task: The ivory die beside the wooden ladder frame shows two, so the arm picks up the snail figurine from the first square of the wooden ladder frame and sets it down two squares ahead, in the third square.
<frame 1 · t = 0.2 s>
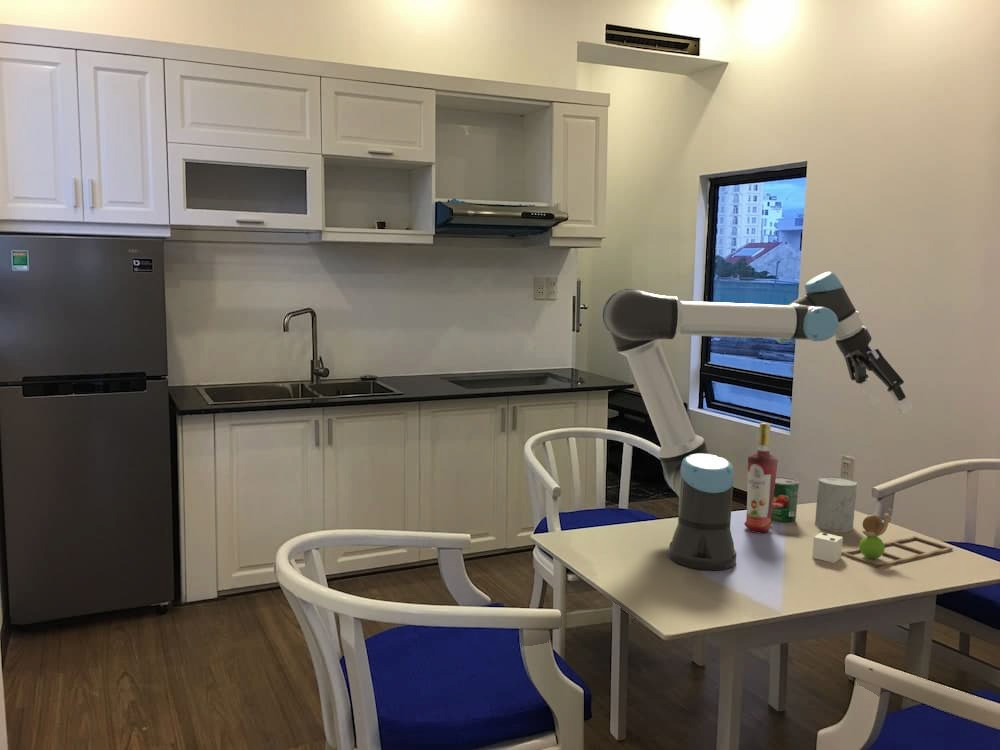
hand: (891, 407, 195), 35 cm above the table, tool tilted 35°, fingers open, 13 cm apart
grey cylinder: (833, 526, 215), on the table
wooden ladder frame: (897, 552, 195), on the table
snail figurine: (872, 559, 190), resting in wooden ladder frame
canned tomato: (780, 520, 219), on the table
liquor: (757, 531, 209), on the table
die: (826, 557, 190), on the table
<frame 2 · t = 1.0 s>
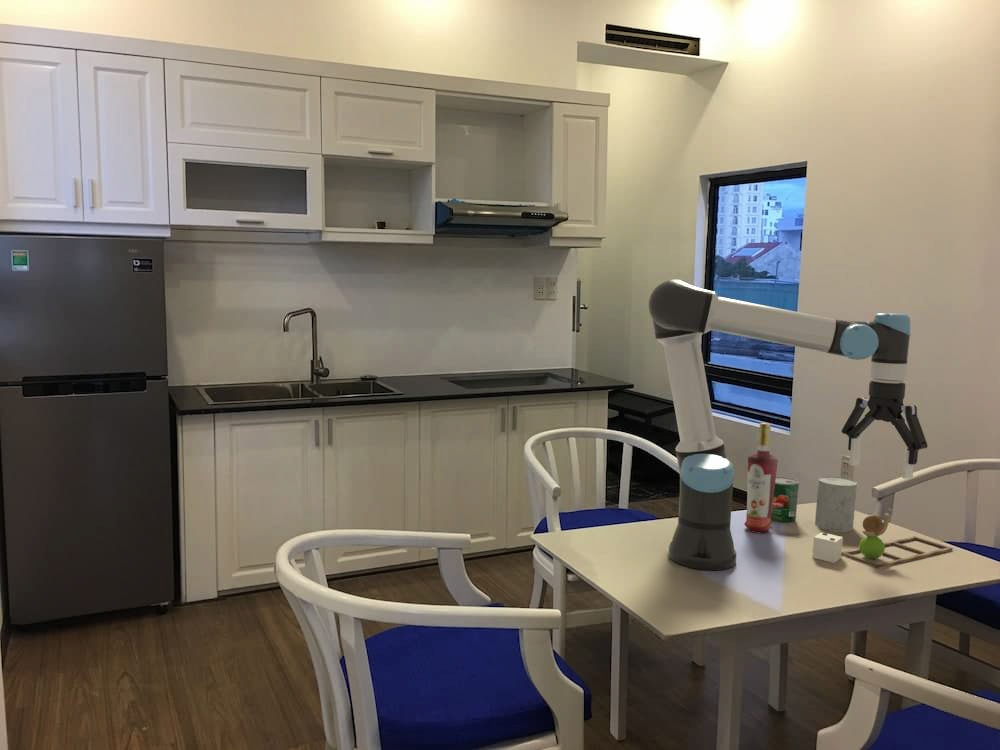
hand: (880, 471, 188), 21 cm above the table, tool pointing down, fingers open, 13 cm apart
nothing on the table moved.
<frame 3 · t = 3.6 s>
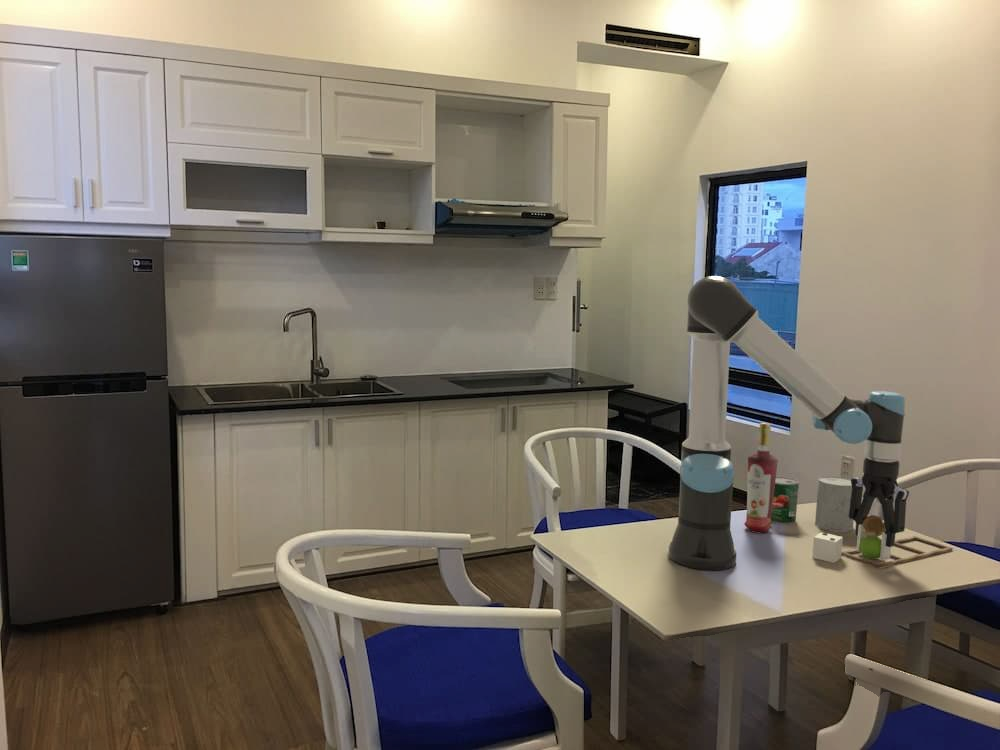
hand: (872, 554, 190), 1 cm above the table, tool pointing down, fingers closed on snail figurine, 5 cm apart
snail figurine: (873, 559, 190), resting in wooden ladder frame, touching gripper
everything else where it was.
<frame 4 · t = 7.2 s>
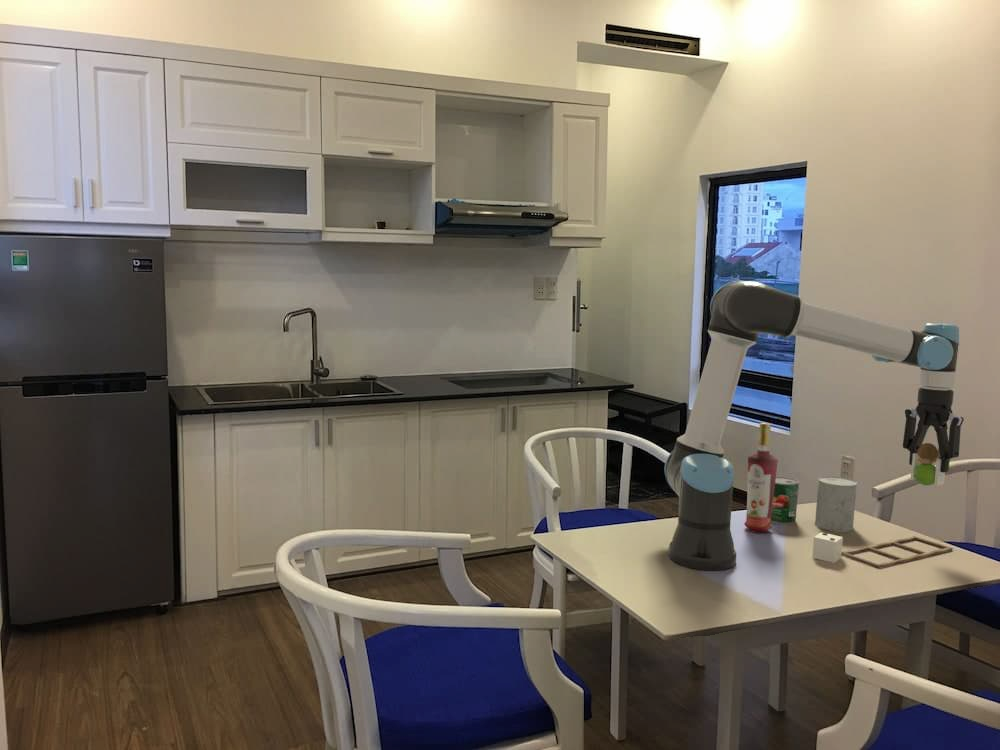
hand: (927, 481, 197), 17 cm above the table, tool pointing down, fingers closed on snail figurine, 5 cm apart
snail figurine: (927, 485, 197), point 16 cm above the table, touching gripper
everything else where it was.
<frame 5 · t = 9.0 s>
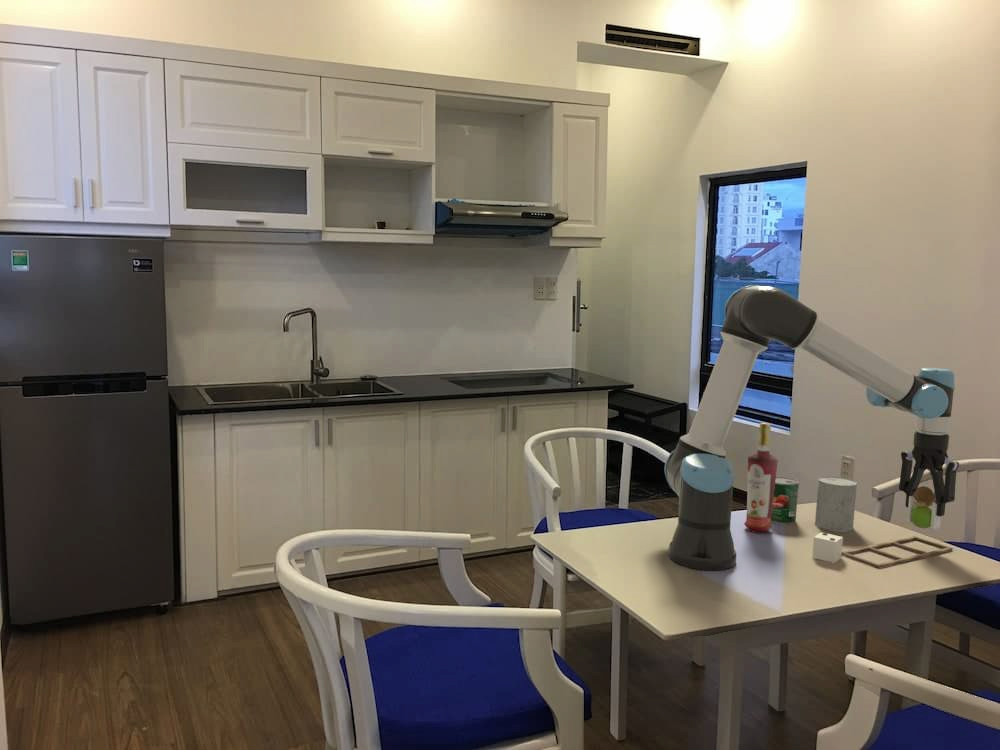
hand: (923, 524, 199), 6 cm above the table, tool pointing down, fingers closed on snail figurine, 5 cm apart
snail figurine: (923, 528, 198), point 5 cm above the table, touching gripper
everything else where it was.
when the fingers open (2 cm above the table, at t = 10.5 s): snail figurine drops 1 cm, resting in wooden ladder frame.
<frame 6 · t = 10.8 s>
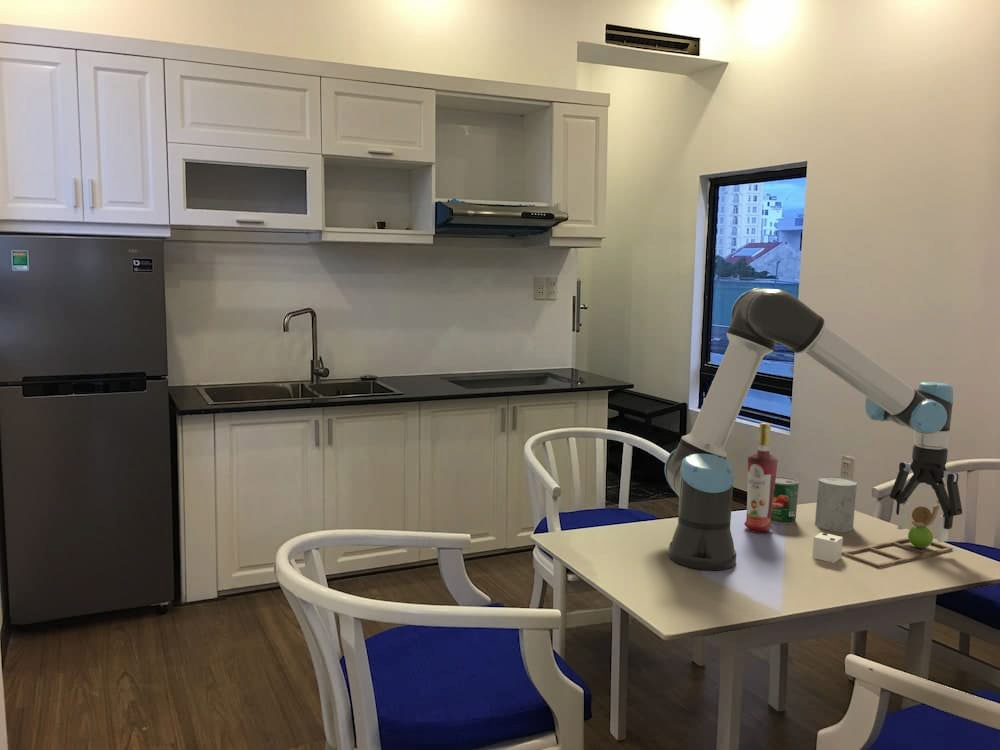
hand: (921, 534, 199), 3 cm above the table, tool pointing down, fingers open, 10 cm apart
snail figurine: (921, 548, 199), resting in wooden ladder frame
everything else where it was.
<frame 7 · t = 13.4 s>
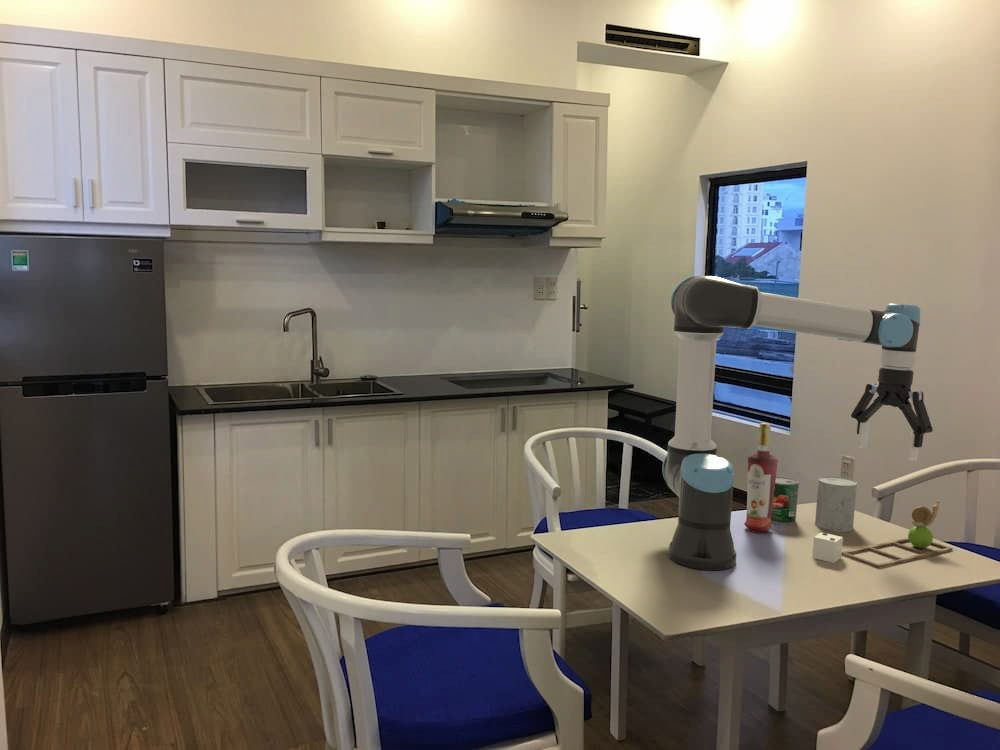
hand: (886, 454, 198), 23 cm above the table, tool pointing down, fingers open, 13 cm apart
nothing on the table moved.
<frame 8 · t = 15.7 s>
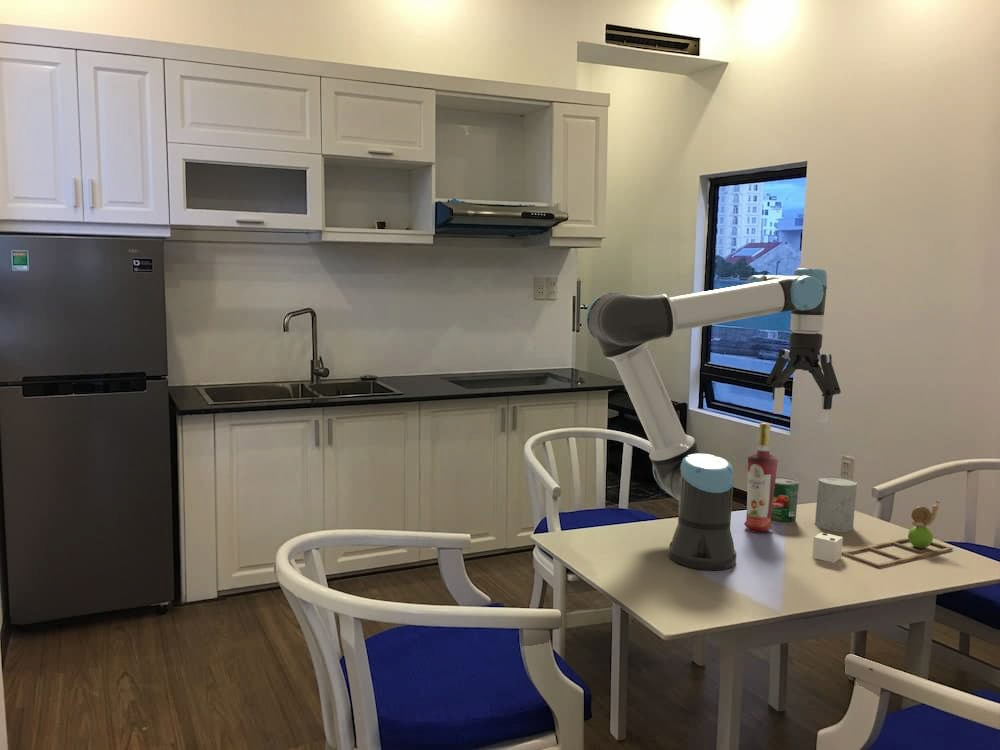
hand: (799, 417, 200), 31 cm above the table, tool pointing down, fingers open, 13 cm apart
nothing on the table moved.
at the end: snail figurine 0.2 cm from the target spot on the wooden ladder frame, point 0.0 cm above the wooden ladder frame's base; snail figurine tilted 0°; the gripper is holding nothing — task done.
